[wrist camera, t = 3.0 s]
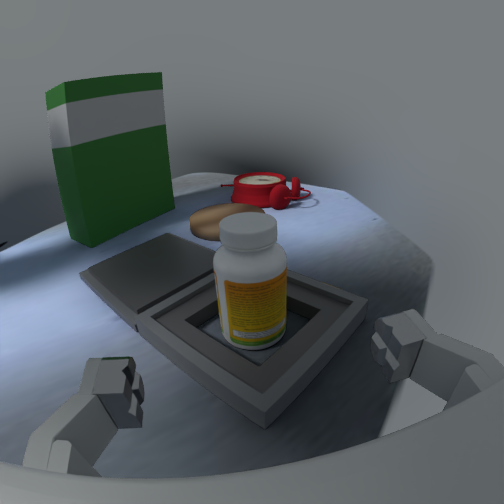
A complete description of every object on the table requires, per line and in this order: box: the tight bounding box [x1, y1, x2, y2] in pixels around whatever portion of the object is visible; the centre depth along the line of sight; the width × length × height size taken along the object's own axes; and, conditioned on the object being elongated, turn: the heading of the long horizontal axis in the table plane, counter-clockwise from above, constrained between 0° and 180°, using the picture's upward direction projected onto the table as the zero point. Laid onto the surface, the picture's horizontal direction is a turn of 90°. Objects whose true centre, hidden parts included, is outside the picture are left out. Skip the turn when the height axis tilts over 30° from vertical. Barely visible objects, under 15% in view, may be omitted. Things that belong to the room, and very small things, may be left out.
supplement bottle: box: [213, 212, 287, 350], centre depth 24 cm, size 5×5×10 cm
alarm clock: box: [221, 172, 311, 210], centre depth 56 cm, size 10×6×15 cm
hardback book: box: [46, 72, 175, 248], centre depth 45 cm, size 18×7×24 cm, turn 147°
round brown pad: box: [189, 203, 265, 241], centre depth 47 cm, size 11×11×2 cm
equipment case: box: [79, 233, 369, 429], centre depth 31 cm, size 28×15×2 cm, turn 49°
